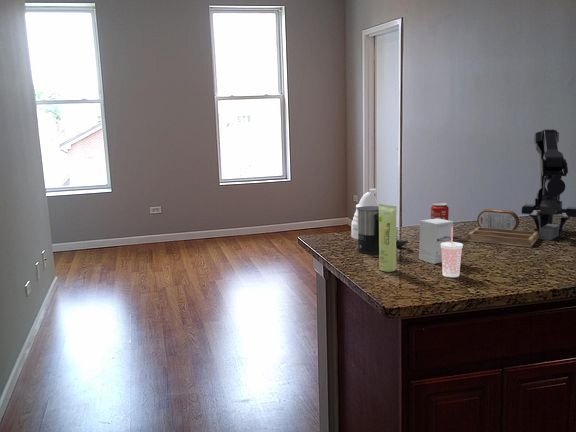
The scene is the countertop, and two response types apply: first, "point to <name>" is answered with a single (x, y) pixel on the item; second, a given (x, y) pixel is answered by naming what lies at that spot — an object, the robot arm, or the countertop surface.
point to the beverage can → (439, 211)
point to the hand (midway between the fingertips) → (549, 234)
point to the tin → (498, 219)
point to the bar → (549, 232)
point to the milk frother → (370, 230)
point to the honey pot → (366, 200)
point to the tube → (387, 238)
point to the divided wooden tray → (503, 236)
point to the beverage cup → (451, 257)
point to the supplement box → (433, 239)
